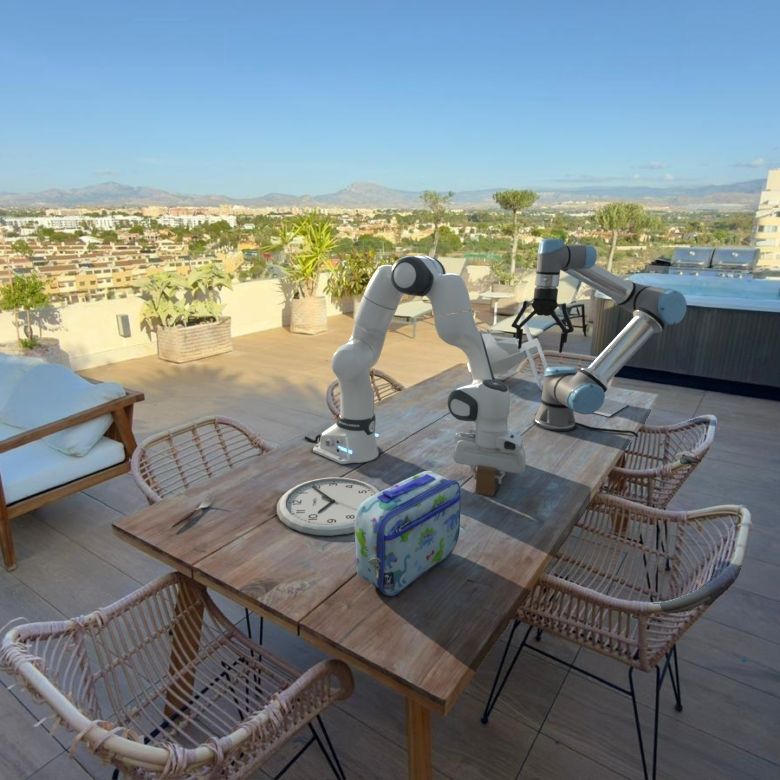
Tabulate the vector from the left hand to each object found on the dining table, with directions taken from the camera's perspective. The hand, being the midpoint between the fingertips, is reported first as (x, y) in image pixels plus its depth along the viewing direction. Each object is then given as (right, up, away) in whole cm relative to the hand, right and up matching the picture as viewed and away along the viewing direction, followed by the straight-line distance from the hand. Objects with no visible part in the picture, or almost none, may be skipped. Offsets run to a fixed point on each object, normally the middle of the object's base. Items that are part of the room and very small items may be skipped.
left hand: (487, 480), depth 152 cm
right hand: (+23, +40, +27) cm, 53 cm away
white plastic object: (+29, +29, +105) cm, 112 cm away
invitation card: (+63, +19, +74) cm, 99 cm away
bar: (+4, 0, +10) cm, 11 cm away
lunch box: (-24, -14, -36) cm, 45 cm away
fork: (-80, -6, -15) cm, 82 cm away
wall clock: (-44, -5, -9) cm, 45 cm away
